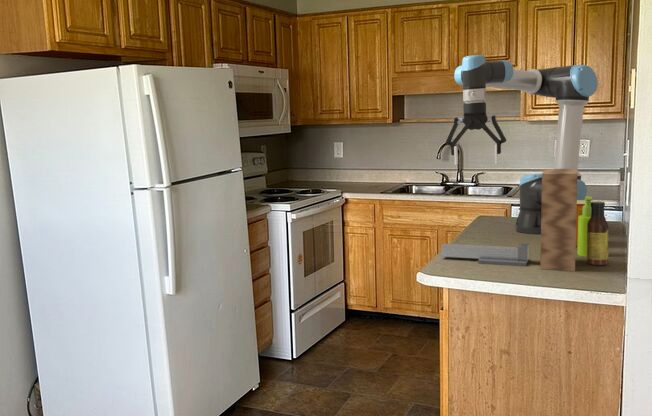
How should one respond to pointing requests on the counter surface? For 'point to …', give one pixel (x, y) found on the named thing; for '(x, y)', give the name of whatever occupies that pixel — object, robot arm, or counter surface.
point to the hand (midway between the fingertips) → (476, 164)
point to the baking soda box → (579, 212)
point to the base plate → (502, 262)
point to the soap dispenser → (583, 227)
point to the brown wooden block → (558, 219)
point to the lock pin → (486, 252)
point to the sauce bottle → (597, 235)
